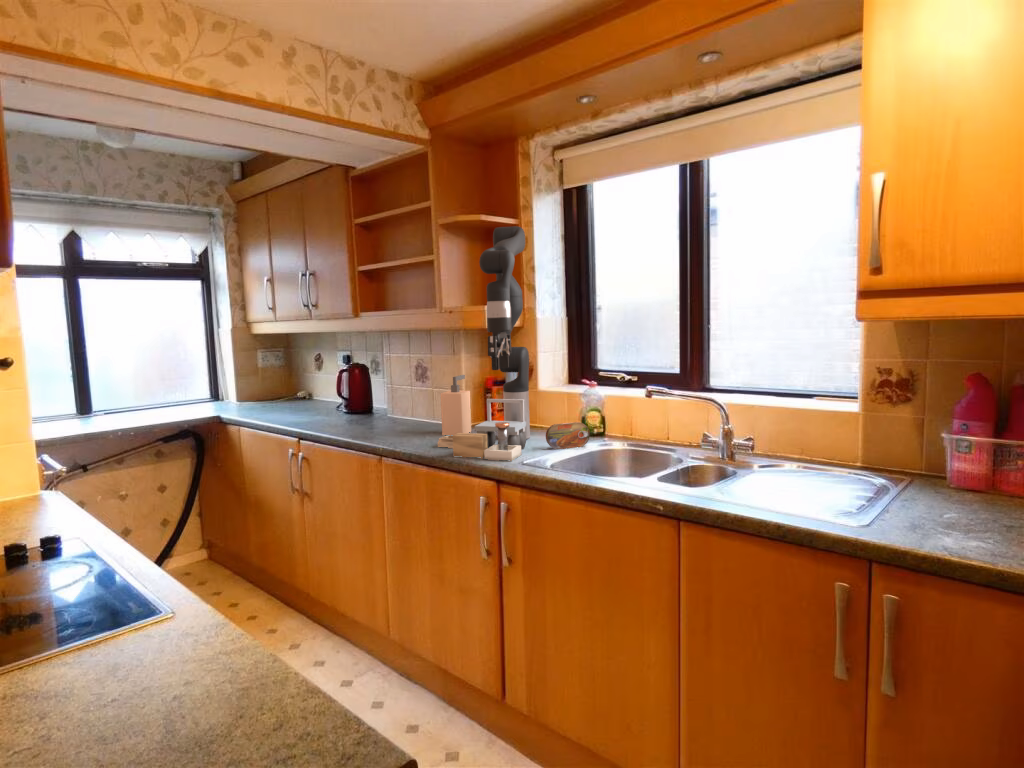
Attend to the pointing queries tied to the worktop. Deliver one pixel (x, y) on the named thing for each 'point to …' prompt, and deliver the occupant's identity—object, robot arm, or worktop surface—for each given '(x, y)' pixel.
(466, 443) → the block
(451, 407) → the soap dispenser
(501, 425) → the pin
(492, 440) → the trolley
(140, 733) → the worktop surface
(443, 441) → the pin block
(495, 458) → the tray
